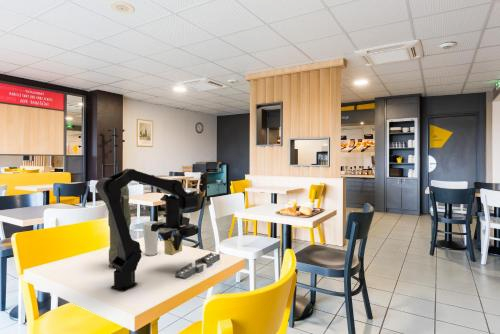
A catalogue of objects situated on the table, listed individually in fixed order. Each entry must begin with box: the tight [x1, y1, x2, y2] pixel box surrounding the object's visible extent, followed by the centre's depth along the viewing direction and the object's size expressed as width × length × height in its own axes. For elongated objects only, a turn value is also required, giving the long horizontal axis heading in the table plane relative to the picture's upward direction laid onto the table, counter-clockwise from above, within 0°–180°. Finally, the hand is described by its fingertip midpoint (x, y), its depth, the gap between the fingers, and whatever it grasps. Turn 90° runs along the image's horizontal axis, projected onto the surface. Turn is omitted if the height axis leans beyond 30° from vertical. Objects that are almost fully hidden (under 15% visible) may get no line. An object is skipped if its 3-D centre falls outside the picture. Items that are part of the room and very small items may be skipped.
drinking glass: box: [143, 220, 159, 256], centre depth 145 cm, size 7×7×15 cm
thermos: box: [107, 184, 132, 270], centre depth 130 cm, size 9×12×35 cm
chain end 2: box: [194, 252, 221, 268], centre depth 133 cm, size 11×7×2 cm, turn 154°
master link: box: [163, 236, 183, 256], centre depth 123 cm, size 6×4×6 cm, turn 154°
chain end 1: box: [174, 262, 204, 280], centre depth 121 cm, size 11×7×2 cm, turn 154°
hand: (173, 249), depth 123 cm, fingers closed on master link, 3 cm apart
